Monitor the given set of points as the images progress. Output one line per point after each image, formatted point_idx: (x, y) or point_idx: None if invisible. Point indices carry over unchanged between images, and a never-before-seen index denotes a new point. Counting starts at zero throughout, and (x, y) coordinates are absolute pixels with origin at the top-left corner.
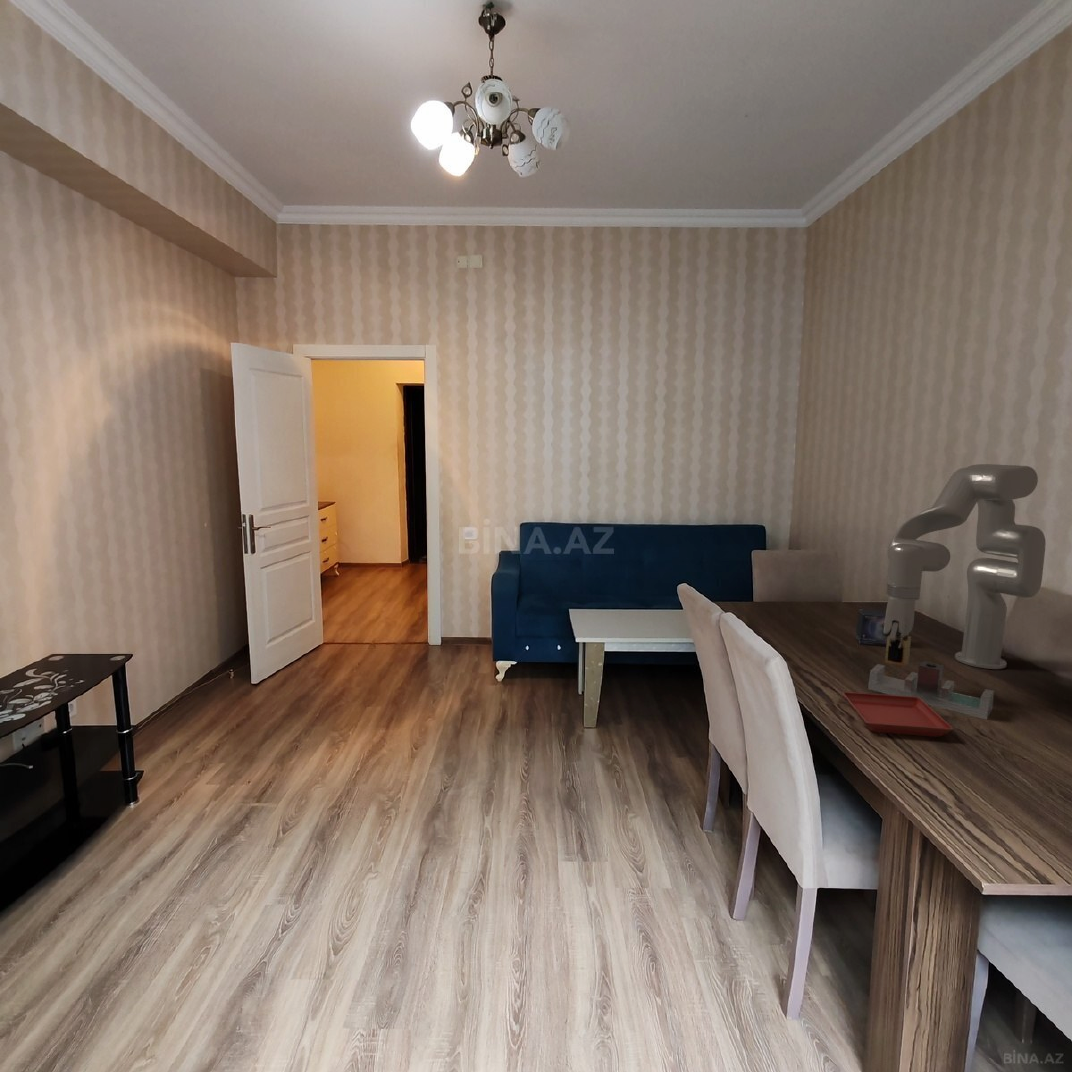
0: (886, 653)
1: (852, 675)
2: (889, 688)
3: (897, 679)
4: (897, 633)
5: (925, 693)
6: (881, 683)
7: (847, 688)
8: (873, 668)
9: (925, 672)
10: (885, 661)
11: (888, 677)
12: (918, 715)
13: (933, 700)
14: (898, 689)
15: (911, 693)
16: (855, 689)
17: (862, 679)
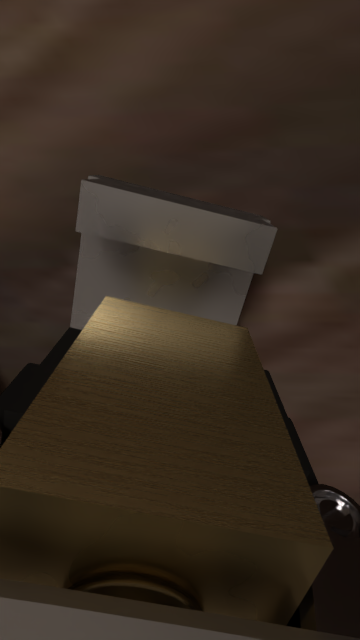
0: (80, 335)
1: (298, 66)
2: (77, 285)
3: (225, 321)
4: (302, 620)
5: None
6: (109, 247)
7: (34, 52)
8: (151, 201)
9: None
10: (105, 300)
11: (236, 280)
12: None
13: None
14: (70, 326)
15: None
16: (50, 104)
17: (249, 136)
